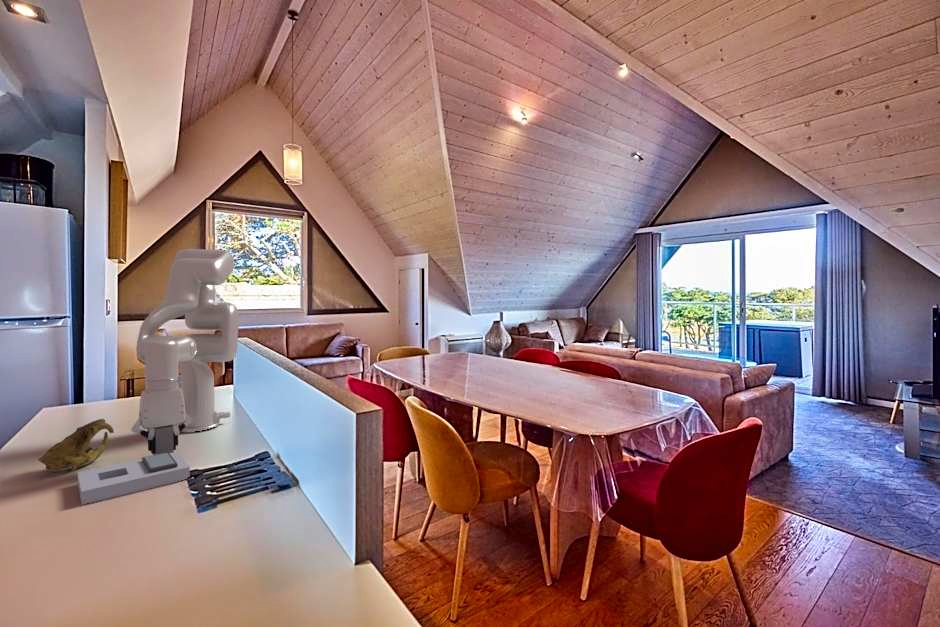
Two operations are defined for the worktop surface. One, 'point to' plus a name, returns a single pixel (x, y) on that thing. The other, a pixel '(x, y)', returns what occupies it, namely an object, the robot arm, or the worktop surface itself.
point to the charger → (164, 440)
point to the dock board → (131, 476)
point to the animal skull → (77, 447)
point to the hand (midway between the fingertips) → (163, 450)
